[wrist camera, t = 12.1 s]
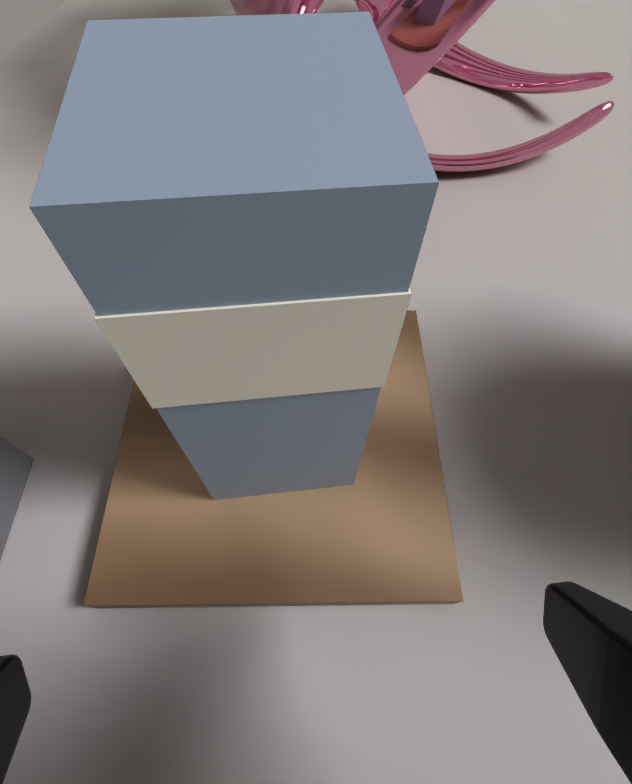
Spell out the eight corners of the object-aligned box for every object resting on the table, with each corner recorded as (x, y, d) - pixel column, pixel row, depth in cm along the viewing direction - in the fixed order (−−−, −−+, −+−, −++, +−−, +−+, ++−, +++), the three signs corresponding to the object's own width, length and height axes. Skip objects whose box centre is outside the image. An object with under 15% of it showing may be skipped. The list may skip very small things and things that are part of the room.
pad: (453, 603, 15) (463, 601, 14) (96, 608, 15) (83, 605, 14) (411, 324, 21) (415, 310, 20) (157, 324, 21) (150, 310, 20)
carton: (355, 485, 16) (443, 183, 6) (212, 501, 16) (23, 209, 5) (335, 368, 18) (371, 10, 8) (212, 379, 18) (85, 19, 8)
